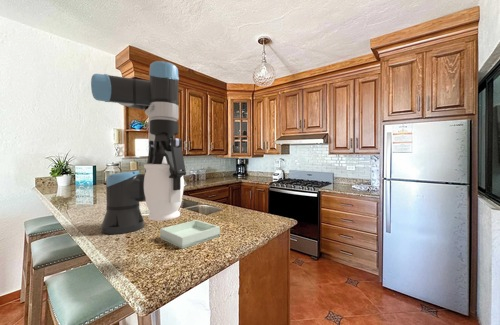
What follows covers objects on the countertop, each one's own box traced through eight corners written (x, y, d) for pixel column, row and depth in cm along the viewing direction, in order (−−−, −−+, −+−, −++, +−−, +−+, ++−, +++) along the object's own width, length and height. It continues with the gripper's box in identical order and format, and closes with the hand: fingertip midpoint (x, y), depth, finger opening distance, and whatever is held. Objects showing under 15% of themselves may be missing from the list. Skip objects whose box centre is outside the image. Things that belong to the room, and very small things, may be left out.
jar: (170, 223, 55) (170, 164, 55) (134, 221, 57) (134, 164, 57) (190, 213, 65) (190, 163, 65) (159, 211, 67) (159, 163, 67)
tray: (160, 238, 78) (160, 228, 78) (196, 228, 89) (196, 219, 89) (182, 249, 68) (182, 237, 68) (219, 236, 80) (219, 226, 80)
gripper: (133, 123, 65) (134, 196, 66) (173, 112, 50) (173, 208, 51) (158, 126, 71) (158, 193, 71) (200, 117, 56) (200, 203, 56)
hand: (164, 199), depth 61 cm, fingers closed on jar, 10 cm apart
